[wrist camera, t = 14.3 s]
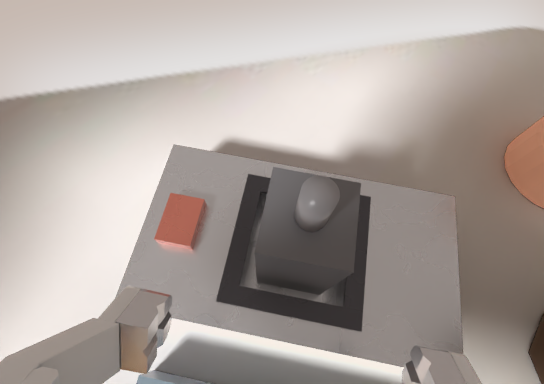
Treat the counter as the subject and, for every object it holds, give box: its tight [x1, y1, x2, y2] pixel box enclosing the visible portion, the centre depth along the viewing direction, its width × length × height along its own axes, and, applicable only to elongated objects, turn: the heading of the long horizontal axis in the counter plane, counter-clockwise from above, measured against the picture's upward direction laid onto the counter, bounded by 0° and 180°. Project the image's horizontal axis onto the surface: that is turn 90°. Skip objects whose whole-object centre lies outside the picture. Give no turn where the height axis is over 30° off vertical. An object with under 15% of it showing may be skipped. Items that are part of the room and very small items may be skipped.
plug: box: [254, 167, 361, 295], centre depth 16 cm, size 4×4×10 cm
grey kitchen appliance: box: [116, 145, 463, 367], centre depth 19 cm, size 18×10×5 cm, turn 79°
